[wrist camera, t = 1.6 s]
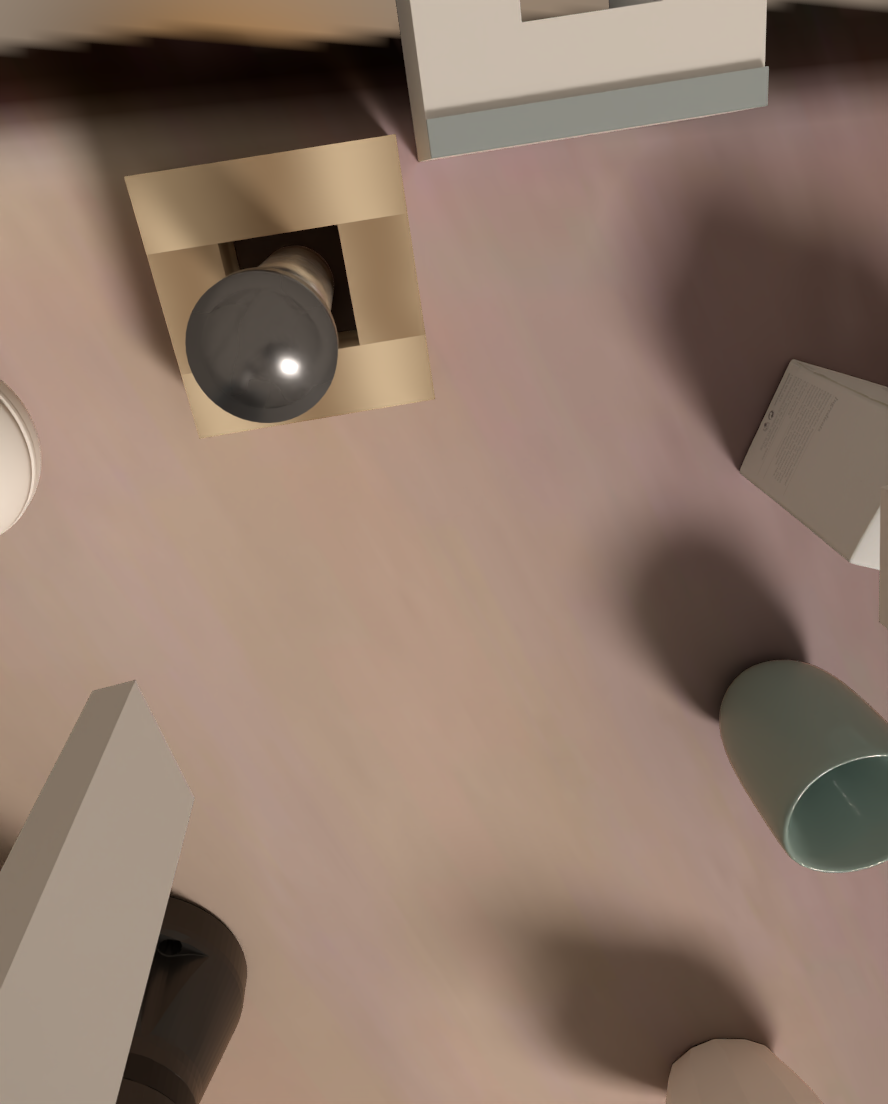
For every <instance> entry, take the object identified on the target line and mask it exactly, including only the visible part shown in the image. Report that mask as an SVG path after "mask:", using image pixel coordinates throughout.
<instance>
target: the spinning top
mask: <svg viewBox="0 0 888 1104" xmlns="http://www.w3.org/2000/svg"><path fill="white" fill-rule="evenodd" d="M40 472H41V449H40V443H39V438H38V434H37V431H36V428H35V425H34V423H33V421H32V418H31V416H30V414H29V413H28V411H27V409H26V407H25V406H24V404H23V403H22V401H21V400H20V399H19V398H18V396H17V395H16V394H15V393H14V392H13V391H12V390H11V389H10V387H8V386H7V385H6V384H5V383H4V382H3V381H2V380H1V379H0V535H1V534H3V533H4V532H5V531H7V530H8V529H9V528H10V527H11V526H12V525H14V524H15V523H16V522H17V520H18V519H19V518H20V517H21V516H22V514H23V513H24V512H25V510H26V508H27V507H28V505H29V503H30V502H31V500H32V498H33V496H34V494H35V491H36V489H37V485H38V482H39V478H40Z"/></svg>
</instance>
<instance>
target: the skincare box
mask: <svg viewBox="0 0 888 1104" xmlns="http://www.w3.org/2000/svg"><path fill="white" fill-rule="evenodd" d="M740 474H742V475H743V476H744V477H745V478H746V479H748V480H749V481H750V482H751V483H753V484H754V485H755V486H756V487H758V488H759V489H760V490H762V491H763V492H764V493H765V494H767V495H768V496H769V497H770V498H772V499H773V500H774V501H775V502H777V503H778V504H779V505H780V506H782V507H783V508H784V509H785V510H787V511H788V512H789V513H790V514H791V515H793V516H794V517H795V518H796V519H798V520H799V521H800V522H801V523H802V524H804V525H805V526H806V527H807V528H809V529H810V530H811V531H812V532H814V533H815V534H816V535H817V536H818V537H820V538H821V539H822V540H823V541H824V542H825V543H827V544H828V545H829V546H830V547H832V548H833V549H834V550H835V551H836V552H838V553H839V554H840V555H841V556H843V557H844V558H845V559H846V560H847V561H848V562H850V563H853V564H856V565H860V566H864V567H869V568H873V569H877V570H880V495H881V487H882V486H886V485H888V387H886V386H883V385H879V384H876V383H873V382H869V381H866V380H863V379H860V378H856V377H853V376H850V375H846V374H843V373H839V372H836V371H833V370H829V369H826V368H822V367H819V366H815V365H812V364H808V363H805V362H802V361H799V360H795V359H793V360H791V362H790V363H789V365H788V367H787V369H786V371H785V374H784V376H783V378H782V380H781V382H780V384H779V386H778V389H777V391H776V393H775V395H774V397H773V399H772V401H771V403H770V405H769V408H768V410H767V412H766V414H765V416H764V418H763V420H762V422H761V424H760V427H759V429H758V431H757V433H756V435H755V437H754V439H753V441H752V444H751V446H750V448H749V450H748V453H747V455H746V456H745V459H744V461H743V464H742V466H741V468H740Z"/></svg>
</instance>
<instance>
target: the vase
mask: <svg viewBox="0 0 888 1104" xmlns="http://www.w3.org/2000/svg"><path fill="white" fill-rule="evenodd" d="M666 1104H824V1103H823V1102H822V1101H821V1100H820V1099H819V1097H818V1096H817V1095H816V1094H815V1093H814V1091H813V1090H812V1089H811V1088H810V1087H809V1086H808V1085H807V1084H806V1083H805V1082H804V1081H803V1080H802V1079H801V1078H800V1077H799V1076H798V1075H797V1074H796V1073H795V1072H794V1071H793V1070H792V1069H791V1068H789V1067H788V1066H787V1065H786V1064H785V1063H784V1062H782V1061H781V1060H780V1059H779V1058H778V1057H777V1056H776V1055H775V1054H774V1053H773V1052H772V1051H770V1050H769V1049H768V1048H767V1047H766V1046H765V1045H762V1044H759V1043H756V1042H753V1041H749V1040H746V1039H713V1040H710V1041H708V1042H706V1043H703V1044H701V1045H698V1046H696V1047H693V1048H691V1049H690V1050H689V1051H687V1052H686V1053H685V1054H684V1055H683V1056H682V1057H680V1058H679V1059H678V1060H677V1061H676V1062H675V1063H673V1064H672V1068H671V1072H670V1075H669V1079H668V1087H667V1094H666Z"/></svg>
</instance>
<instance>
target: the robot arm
mask: <svg viewBox="0 0 888 1104" xmlns="http://www.w3.org/2000/svg"><path fill="white" fill-rule="evenodd" d="M879 622H880V623H881V624H882V625H883V626H885V627H886V628H887V629H888V485H886V486H882V487H881V495H880V579H879ZM193 802H194V796H193V794H192V792H191V790H190V788H189V786H188V784H187V782H186V780H185V778H184V776H183V774H182V772H181V770H180V768H179V766H178V764H177V762H176V760H175V758H174V756H173V754H172V752H171V750H170V748H169V746H168V744H167V742H166V740H165V738H164V736H163V734H162V732H161V730H160V728H159V726H158V724H157V722H156V720H155V718H154V716H153V714H152V712H151V710H150V708H149V706H148V704H147V702H146V700H145V698H144V696H143V694H142V692H141V690H140V688H139V686H138V684H137V682H136V680H133V681H129V682H125V683H121V684H118V685H114V686H110V687H106V688H102V689H98V690H94V691H92V693H91V695H90V697H89V699H88V701H87V703H86V705H85V707H84V709H83V711H82V712H81V714H80V716H79V718H78V720H77V722H76V724H75V726H74V728H73V730H72V732H71V734H70V736H69V738H68V740H67V742H66V744H65V746H64V748H63V750H62V752H61V754H60V756H59V757H58V759H57V761H56V763H55V765H54V767H53V769H52V771H51V773H50V775H49V777H48V779H47V781H46V783H45V785H44V787H43V789H42V791H41V793H40V795H39V797H38V799H37V801H36V803H35V804H34V806H33V808H32V810H31V812H30V814H29V816H28V818H27V820H26V822H25V824H24V826H23V828H22V830H21V832H20V834H19V836H18V838H17V840H16V842H15V844H14V846H13V848H12V849H11V851H10V853H9V855H8V857H7V859H6V861H5V863H4V865H3V867H2V869H1V871H0V1104H199V1103H200V1101H201V1099H202V1097H203V1095H204V1093H205V1091H206V1089H207V1087H208V1085H209V1082H210V1080H211V1078H212V1076H213V1074H214V1072H215V1070H216V1068H217V1066H218V1064H219V1062H220V1060H221V1058H222V1056H223V1054H224V1052H225V1050H226V1047H227V1045H228V1043H229V1041H230V1039H231V1037H232V1035H233V1033H234V1031H235V1029H236V1027H237V1025H238V1022H239V1019H240V1016H241V1012H242V1008H243V1001H244V994H245V987H246V979H247V965H246V960H245V957H244V953H243V951H242V949H241V947H240V945H239V943H238V941H237V940H236V939H235V937H234V936H233V935H232V933H231V932H230V931H229V930H228V929H227V928H226V927H225V926H224V925H223V924H222V923H221V922H220V921H218V920H217V919H216V918H214V917H213V916H212V915H210V914H208V913H207V912H205V911H203V910H202V909H200V908H198V907H196V906H194V905H192V904H189V903H187V902H184V901H182V900H179V899H176V898H173V897H169V895H170V891H171V887H172V884H173V880H174V876H175V872H176V868H177V864H178V860H179V856H180V853H181V849H182V845H183V841H184V837H185V833H186V829H187V825H188V822H189V818H190V814H191V810H192V806H193Z"/></svg>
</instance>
